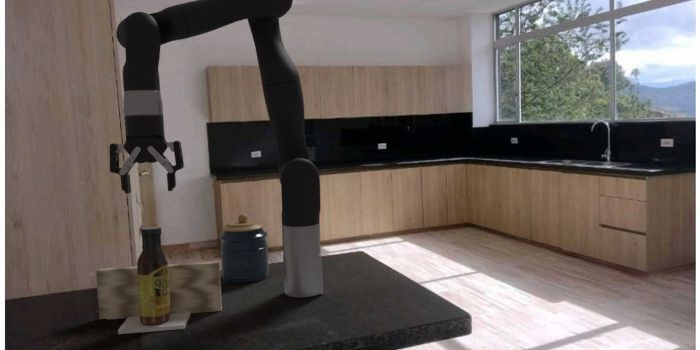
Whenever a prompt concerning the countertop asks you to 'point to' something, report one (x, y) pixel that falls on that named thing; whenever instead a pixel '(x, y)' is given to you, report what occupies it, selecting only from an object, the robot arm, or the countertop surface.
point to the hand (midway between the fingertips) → (149, 191)
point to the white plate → (172, 323)
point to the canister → (244, 251)
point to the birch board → (184, 283)
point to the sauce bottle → (153, 279)
